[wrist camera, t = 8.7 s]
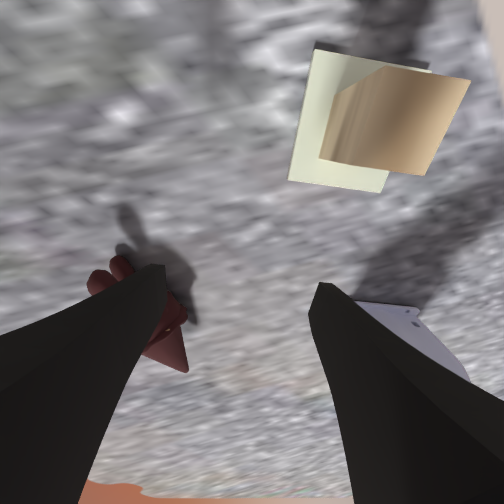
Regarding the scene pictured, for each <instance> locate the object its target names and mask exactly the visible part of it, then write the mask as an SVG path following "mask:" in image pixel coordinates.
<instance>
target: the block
mask: <svg viewBox="0 0 504 504" xmlns="http://www.w3.org/2000/svg"><path fill="white" fill-rule="evenodd" d="M470 83H471V81H470V80H465V79H459V78H454V77H448V76H442V75H437V74H431V73H426V72H420V71H414V70H409V69H403V68H397V67H392V66H386V65H385V66H384V67H382V68H380V69H379V70H377V71H375V72H373V73H372V74H370V75H368V76H367V77H365V78H363V79H362V80H360V81H358V82H356V83H355V84H353V85H351V86H350V87H348V88H346V89H344V90H343V91H341V92H339V93H338V94H336V95H334V99H333V103H332V107H331V111H330V114H329V118H328V122H327V126H326V130H325V134H324V138H323V142H322V146H321V150H320V154H319V157H318V159H323V160H328V161H333V162H338V163H342V164H347V165H352V166H359V167H366V168H373V169H380V170H387V171H394V172H401V173H408V174H415V175H422V176H424V175H425V173H426V171H427V169H428V167H429V165H430V163H431V161H432V159H433V157H434V155H435V153H436V151H437V149H438V147H439V145H440V143H441V141H442V139H443V137H444V135H445V133H446V131H447V129H448V127H449V125H450V123H451V121H452V119H453V117H454V115H455V113H456V111H457V109H458V107H459V105H460V103H461V101H462V99H463V97H464V95H465V93H466V91H467V89H468V87H469V85H470Z"/></svg>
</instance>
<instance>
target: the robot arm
mask: <svg viewBox="0 0 504 504" xmlns="http://www.w3.org/2000/svg"><path fill="white" fill-rule="evenodd" d="M167 301H168V299H167V287H166V275H165V265H156V264H150V265H148V266H146V267H144V268H142V269H140V270H139V271H137V272H135V273H133V274H132V275H130V276H128V277H126V278H124V279H123V280H121V281H119V282H117V283H115V284H114V285H112V286H110V287H108V288H106V289H105V290H103V291H101V292H99V293H97V294H95V295H93V296H91V297H89V298H87V299H85V300H83V301H81V302H79V303H77V304H75V305H73V306H71V307H69V308H66V309H64V310H62V311H60V312H58V313H55V314H53V315H51V316H48V317H46V318H44V319H41V320H39V321H37V322H34V323H32V324H29V325H27V326H24V327H21V328H19V329H16V330H14V331H11V332H8V333H6V334H3V335H0V504H78V501H79V499H80V496H81V493H82V490H83V488H84V485H85V482H86V480H87V477H88V475H89V472H90V470H91V467H92V465H93V462H94V459H95V457H96V454H97V452H98V449H99V447H100V444H101V442H102V439H103V437H104V434H105V432H106V430H107V427H108V425H109V422H110V420H111V417H112V415H113V413H114V410H115V408H116V406H117V403H118V401H119V399H120V396H121V394H122V392H123V390H124V387H125V385H126V383H127V381H128V379H129V377H130V375H131V373H132V371H133V369H134V367H135V365H136V363H137V361H138V359H139V358H140V356H141V354H142V352H143V350H144V349H145V347H146V345H147V343H148V341H149V339H150V338H151V336H152V334H153V332H154V330H155V328H156V327H157V325H158V323H159V321H160V319H161V316H162V314H163V311H164V309H165V306H166V303H167ZM419 312H420V310H419V309H418V308H417V307H409V306H399V305H389V304H379V303H369V302H360V301H353V300H352V299H351V298H350V297H348V296H347V295H346V294H345V293H344V292H342V291H341V290H340V289H339V288H338V287H336V286H335V285H333V284H332V283H324V282H319V285H318V287H317V290H316V293H315V296H314V299H313V301H312V304H311V307H310V310H309V313H308V316H309V322H310V327H311V332H312V336H313V339H314V342H315V345H316V348H317V351H318V354H319V357H320V360H321V363H322V366H323V369H324V372H325V375H326V377H327V380H328V383H329V387H330V390H331V394H332V397H333V402H334V406H335V410H336V414H337V418H338V423H339V427H340V432H341V437H342V441H343V446H344V451H345V456H346V461H347V466H348V471H349V477H350V482H351V487H352V493H353V499H354V504H504V401H503V400H501V399H499V398H497V397H495V396H493V395H491V394H490V393H488V392H486V391H484V390H483V389H481V388H479V387H477V386H476V385H474V384H472V383H471V381H470V378H469V376H468V374H467V372H466V370H465V368H464V367H463V365H462V364H461V362H460V361H459V360H458V359H457V358H456V357H455V356H454V355H453V354H452V353H451V351H450V350H449V349H448V348H447V347H446V346H445V345H444V344H443V343H442V342H441V341H440V340H439V339H438V338H437V337H436V336H435V335H434V334H433V333H432V332H431V331H430V330H429V329H428V328H427V327H426V326H425V325H424V324H423V323H422V321H421V320H420V319H419V318H418V317H417V315H418V314H419Z"/></svg>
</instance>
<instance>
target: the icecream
mask: <svg viewBox="0 0 504 504" xmlns="http://www.w3.org/2000/svg"><path fill="white" fill-rule="evenodd" d="M109 267H110V270H111V273H112V274H110V273H109V272H108V271H106V270H95V271H93V272H92V274H91V275H90V277H89V279H88V281H87V288H88V291H89V293H90V294H91V295H92V296H93V295H95V294H97V293H99V292H101V291H103V290H105V289H106V288H108V287H110V286H112V285H114V284H115V283H117V282H119V281H121V280H123V279H124V278H126V277H128V276H130V275H132V274H133V273H135V272H134V270H133V268H132V266H131V265H130V264H129V263H128V261H127V260H126V259H125V258H124V257H122V256H120V255H118V256H115V257H113V258H112V259H111V260H110V265H109ZM167 299H168V301H167V303H166V306H165V309H164V311H163V314H162V316H161V319H160V321H159V323H158V325H157V327H156V328H155V330H154V332H153V334H152V336H151V338H150V339H149V341H148V343H147V345H146V347H145V349H144V350H143V352H142V354H141V355H144V356H146V357H148V358H151V359H153V360H155V361H158V362H160V363H162V364H164V365H167V366H169V367H171V368H174V369H176V370H178V371H181V372H183V373H187V372H188V371H189V366H188V361H187V357H186V352H185V347H184V342H183V337H182V332H181V327H180V325H182V324H184V323H185V322H186V320H187V319H188V315H187V313H186V310H187V308H186V307H185V306H183V305H182V304H179V302H178V301H177V300H176V299H175V298H174V297H173V295H172V293H171V292H170V291H167Z"/></svg>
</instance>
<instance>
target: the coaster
mask: <svg viewBox="0 0 504 504" xmlns="http://www.w3.org/2000/svg"><path fill="white" fill-rule="evenodd" d="M385 65H386V66H392V67H397V68H403V69H409V70H414V71H420V72H426V73H431V72H432V71H429V70H424V69H418V68H413V67H408V66H402V65H397V64H392V63H386V62H381V61H376V60H370V59H365V58H360V57H355V56H349V55H344V54H339V53H333V52H328V51H323V50H317V49H315V50H314V51H313V53H312V57H311V62H310V67H309V72H308V77H307V82H306V87H305V92H304V97H303V101H302V106H301V111H300V116H299V121H298V126H297V131H296V136H295V141H294V146H293V151H292V155H291V160H290V165H289V170H288V175H287V180H292V181H299V182H306V183H313V184H320V185H327V186H334V187H341V188H348V189H355V190H363V191H370V192H377V193H381V190H382V188H383V185H384V183H385V181H386V178H387V176H388V174H389V171H387V170H380V169H373V168H366V167H359V166H352V165H347V164H342V163H338V162H333V161H328V160H323V159H318V157H319V154H320V150H321V146H322V142H323V138H324V134H325V130H326V126H327V122H328V118H329V114H330V111H331V107H332V103H333V99H334V95H336V94H338V93H339V92H341V91H343V90H344V89H346V88H348V87H350V86H351V85H353V84H355V83H356V82H358V81H360V80H362V79H363V78H365V77H367V76H368V75H370V74H372V73H373V72H375V71H377V70H379V69H380V68H382V67H384V66H385Z"/></svg>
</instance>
